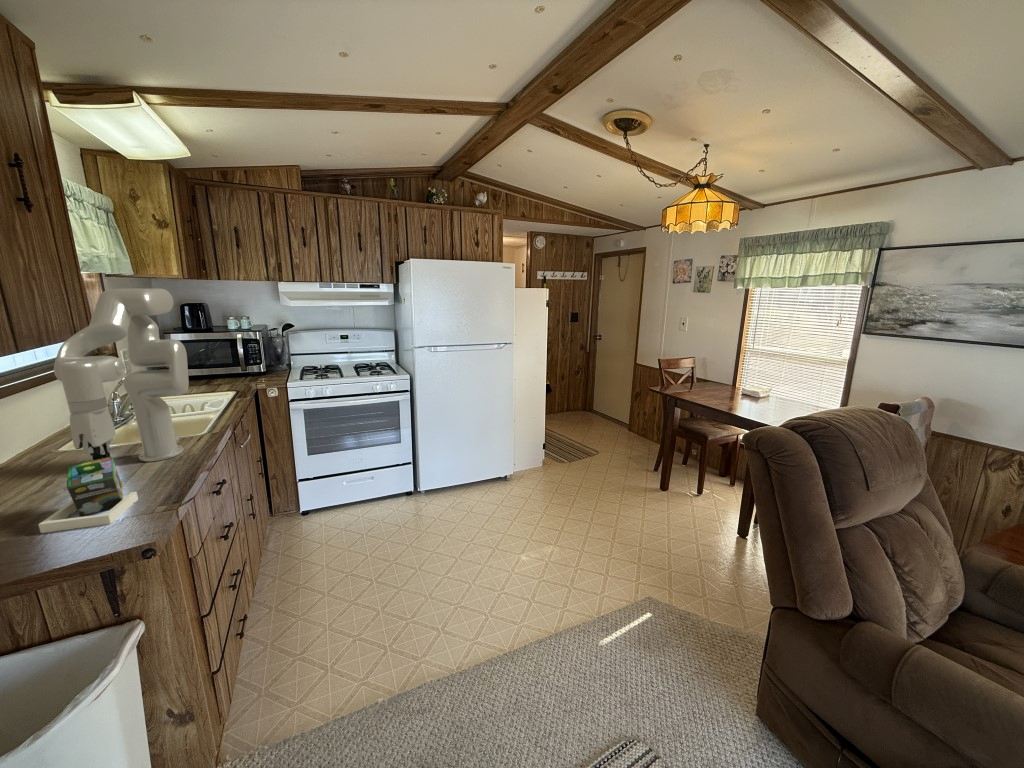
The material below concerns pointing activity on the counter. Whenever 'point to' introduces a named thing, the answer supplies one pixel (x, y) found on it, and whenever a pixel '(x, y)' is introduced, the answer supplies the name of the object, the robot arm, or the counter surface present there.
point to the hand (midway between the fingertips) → (104, 466)
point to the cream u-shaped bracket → (60, 523)
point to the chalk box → (94, 485)
